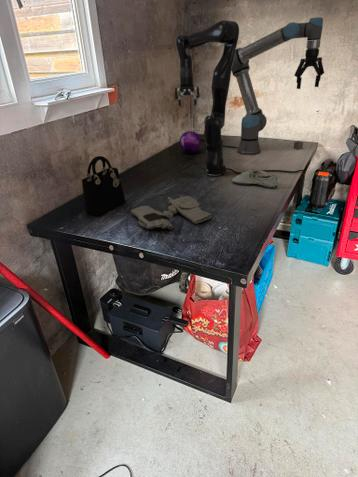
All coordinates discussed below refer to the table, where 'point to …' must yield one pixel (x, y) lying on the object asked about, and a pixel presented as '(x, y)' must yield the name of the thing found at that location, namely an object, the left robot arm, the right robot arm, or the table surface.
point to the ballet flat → (256, 179)
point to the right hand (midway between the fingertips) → (307, 87)
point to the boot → (204, 129)
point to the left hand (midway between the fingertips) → (187, 106)
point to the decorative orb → (190, 142)
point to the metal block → (298, 145)
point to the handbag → (102, 188)
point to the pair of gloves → (170, 213)
